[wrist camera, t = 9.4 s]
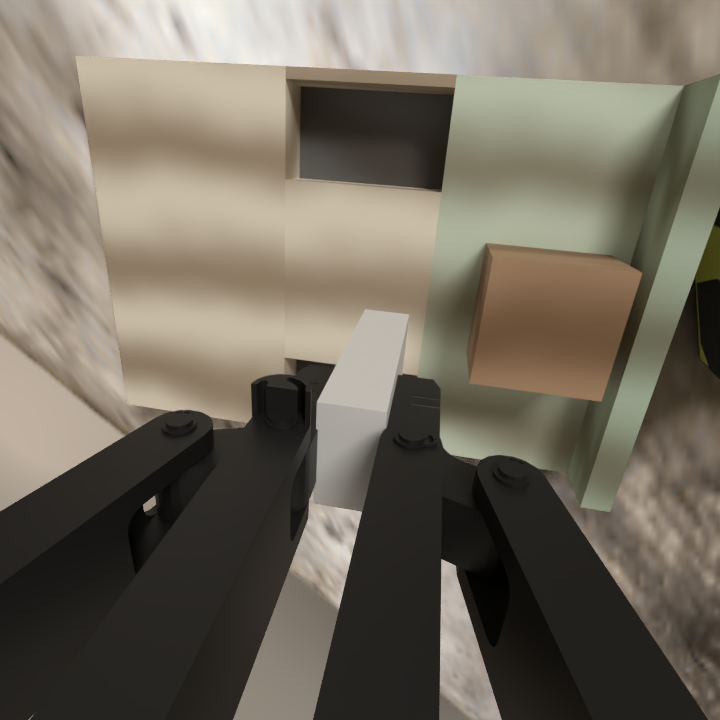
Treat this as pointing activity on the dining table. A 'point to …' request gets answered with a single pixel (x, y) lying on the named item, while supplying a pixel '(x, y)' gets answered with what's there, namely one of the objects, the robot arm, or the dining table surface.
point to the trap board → (390, 230)
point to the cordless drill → (709, 300)
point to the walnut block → (549, 320)
